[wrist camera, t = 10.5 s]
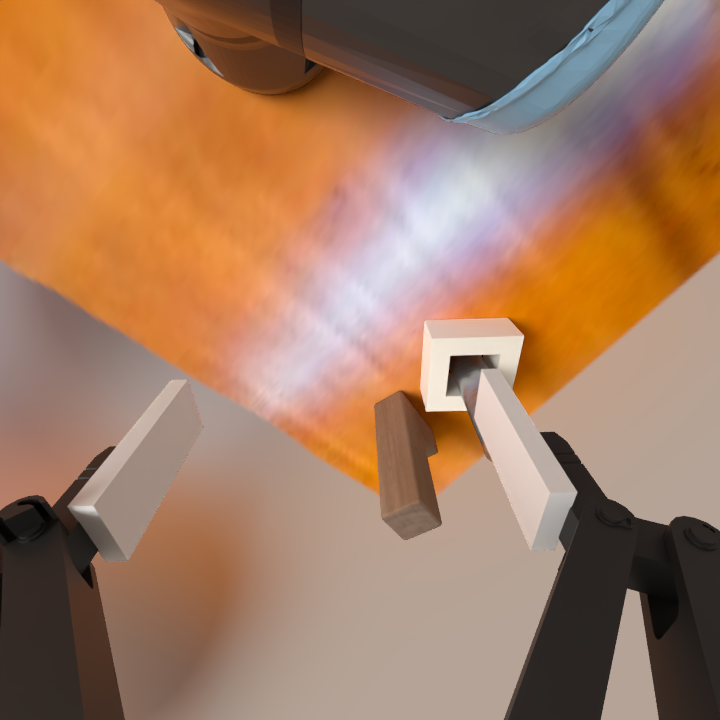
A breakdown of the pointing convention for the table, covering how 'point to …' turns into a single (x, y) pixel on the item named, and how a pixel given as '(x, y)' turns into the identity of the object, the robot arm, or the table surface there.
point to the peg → (469, 384)
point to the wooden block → (405, 467)
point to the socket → (465, 338)
